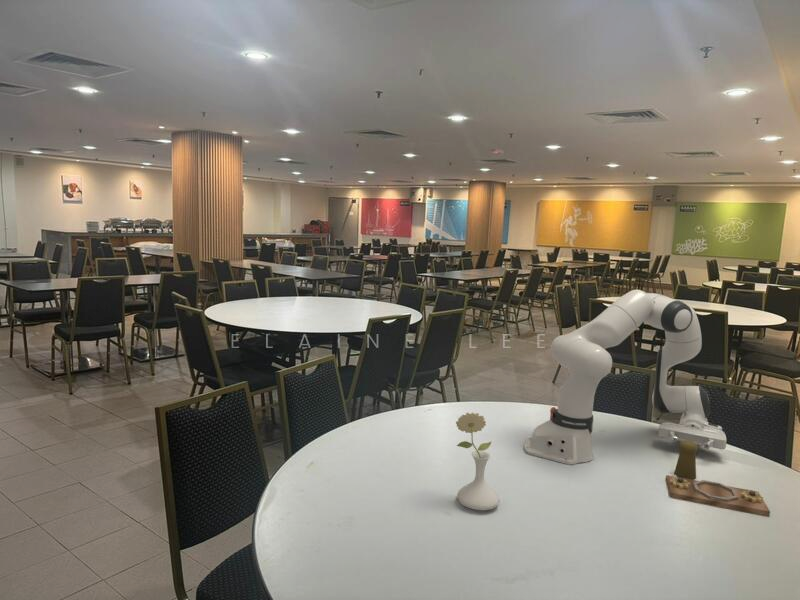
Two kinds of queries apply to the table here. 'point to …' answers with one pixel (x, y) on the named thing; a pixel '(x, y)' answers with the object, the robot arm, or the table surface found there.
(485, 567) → the table surface
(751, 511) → the gear board
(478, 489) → the flower in vase
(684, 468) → the cork
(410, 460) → the table surface
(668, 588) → the table surface
